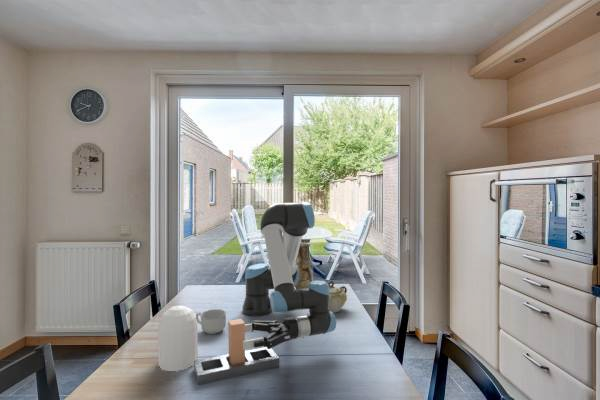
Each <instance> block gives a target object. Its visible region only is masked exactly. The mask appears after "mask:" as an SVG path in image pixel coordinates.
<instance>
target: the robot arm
mask: <svg viewBox="0 0 600 400" xmlns="http://www.w3.org/2000/svg"><path fill="white" fill-rule="evenodd" d="M264 211H265V212H264ZM264 211H263V212H264V213H263V214H262V216H261V219H260V223H259V225H260V227H259V228H260V233H261V236H262V237H264V241H265V246H266V253H267V257H268V263H269V264H268V263H264V262H263V263H256V264H253V265H252V264H251V265H250V266H248V267H247V268H246V269H245V276H244V278H245V297H244V301H243V305H242V309H241V310H242V313H243V314H244V315H246V316H250V317H251V316H254V317H256V316H265V315H268V314H270V313H272V312H274V313H286V312H294V311H300V310H301V311H302V310H309V314H308V313H307V314H301V315H295V317H294V316H293V317H292V316H291V317H285V318H284V319H283V321H282V322H280V323H279V320H278V319H275V320H254V319H253V320H251V323H246V324H245V334H246V333H249V332H250V333H253V332H254V331H257V332H258V331H259V332H266V333H267V334H268V335H267V336H263V337H258V338H257V337H256V338H252V339H251V338H250V339H247V340H246V339H245V341H243V350H245V351H247V350H252V349H257V348H262V347H267V349H270V348H272V349H273V348H274V347H276V346H278V345H281V344H282V343H284V342H287V341H291V340H295V339H299V338H302V339H304V338H305V337H310V336H317V335H322V334H323V335H324V334H328V333H331V332H334V331H335V329H336V327H337V320H336V315H335V314H334V313H333V312H331V311H329V287H328V284H329V282H326V281H325V280H313V281H312V282H310V283H309V286H308V287H309V288H302V289H296V288H295V285H296V284H297V283H298V279H299V277H298V276H299V270H298V267H297V266H296V259H297V255H298V251H299V247H300V243H301V242H302V239H303V236H305V235H306V234H307V233H308V231H309V230H308V229H313V228H314V227H315V222H316V221H315V220H316V218H315V212H314V209H313V207H312V204H311V203H309V202H302V201H301V202H276V203H274V204H271V205H270V206H269V207H267V209H266V210H264ZM269 290H274V291H271V293H270V291H269ZM269 293H270V295H269Z"/></svg>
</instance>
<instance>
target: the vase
mask: <svg viewBox="0 0 600 400" xmlns="http://www.w3.org/2000/svg"><path fill="white" fill-rule="evenodd" d="M310 246H311V242H302V241H301V243H300V247H299V251H298V255H297V258H296V262H295V264H296V266H297V267H298V270H299V276H298V277H299V279H298V283H297V284H296V285H295V286H294V288H295V289H302V288H309V287H308V286H309V283H310V282H312V280H313V279H312V272H311V265H310V255H309V248H310Z"/></svg>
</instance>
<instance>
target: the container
mask: <svg viewBox="0 0 600 400" xmlns="http://www.w3.org/2000/svg"><path fill="white" fill-rule="evenodd" d="M198 339H199V338H198V322H197V319H196V313H195V312H194V311H193V310H192V309H191V308H189V307H188V306H185V305H174V306H171V307H170V308H168V309H167V310H166V311H164V312H163V314H162V315H161V317H160V318H159V322H158V327H157V346H158V347H157V349H158V353H157V354H158V367H159V366H160V368H161V369H164V370H168V371H176V372H180V371H179V370H182V371H184V370H183V369H185V370H188V369H190V368H192V367H194V366H193V365H194V361H196V360H199V354H198V352H199V350H198V343H199V342H198ZM191 366H192V367H191ZM189 367H190V368H189ZM160 368H159V369H160ZM187 368H188V369H187ZM161 369H160V370H161Z"/></svg>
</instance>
